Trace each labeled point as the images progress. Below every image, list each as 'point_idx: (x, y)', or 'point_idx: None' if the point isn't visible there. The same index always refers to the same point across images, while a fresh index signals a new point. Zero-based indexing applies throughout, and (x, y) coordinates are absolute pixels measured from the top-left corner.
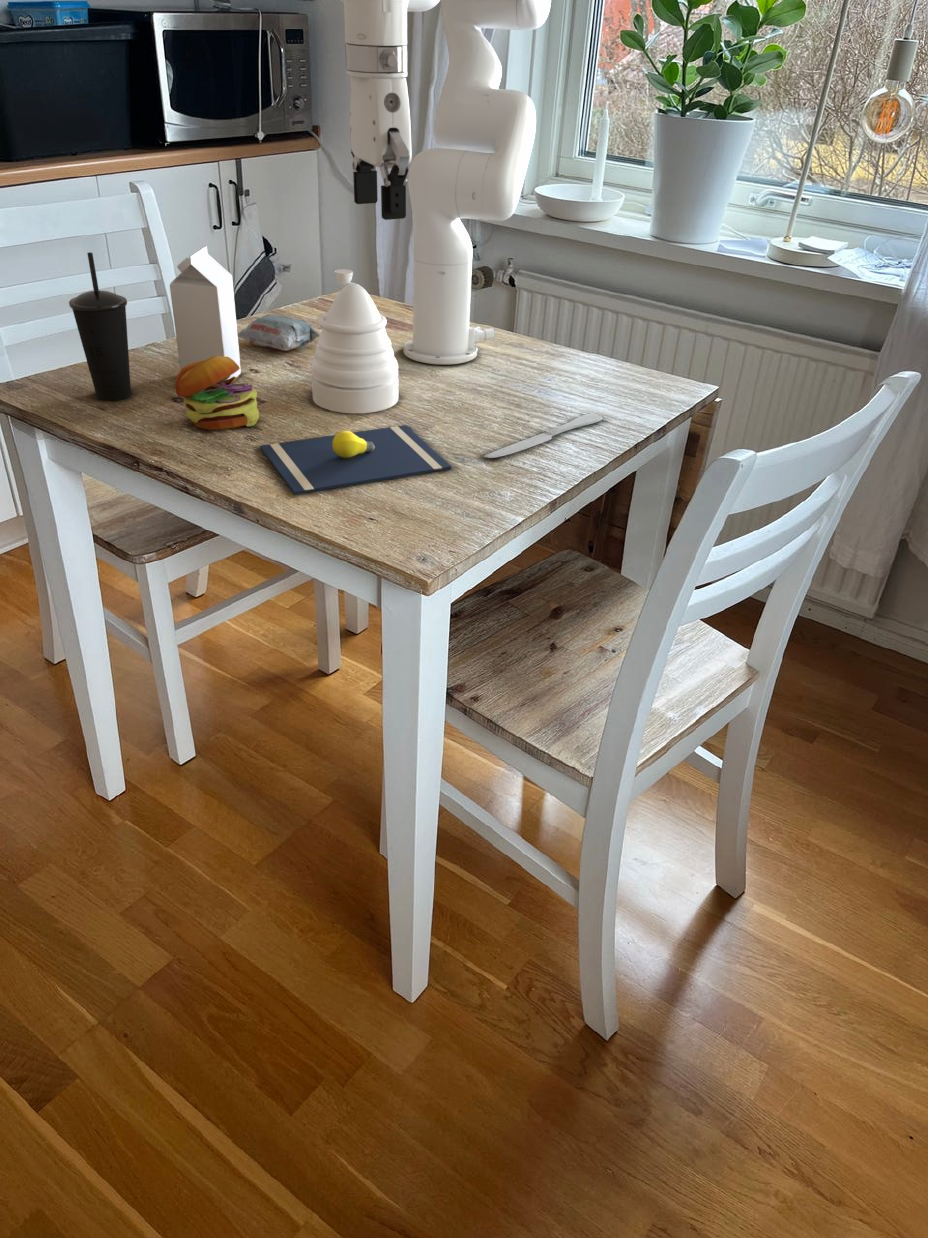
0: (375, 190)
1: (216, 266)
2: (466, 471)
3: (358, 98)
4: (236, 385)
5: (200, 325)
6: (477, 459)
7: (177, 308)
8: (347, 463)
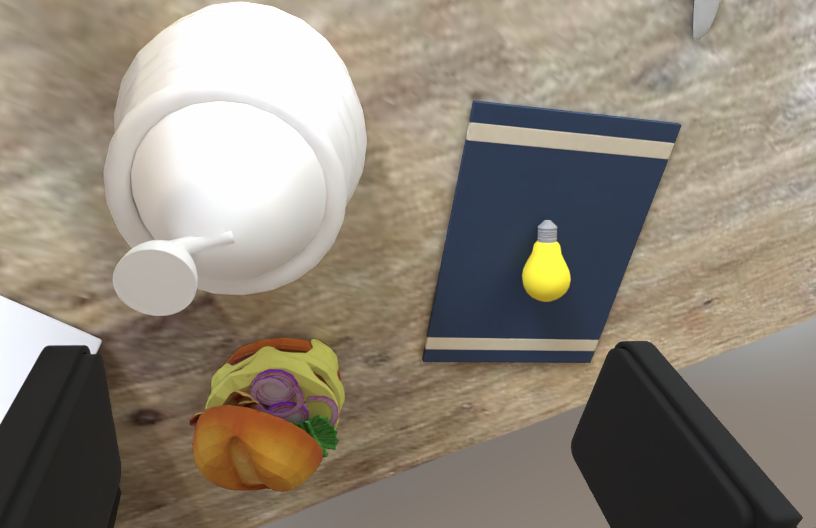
0: (73, 430)
1: None
2: (703, 102)
3: None
4: (257, 390)
5: None
6: (683, 51)
7: None
8: None
